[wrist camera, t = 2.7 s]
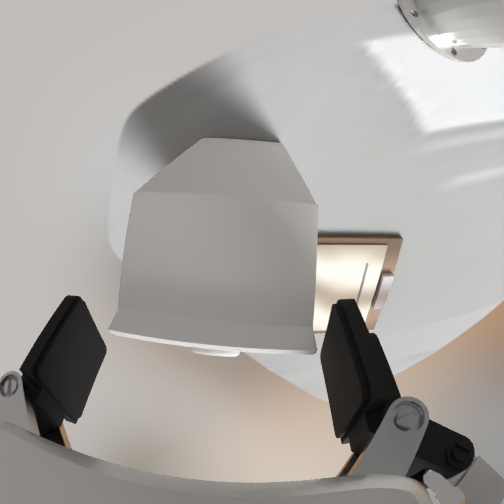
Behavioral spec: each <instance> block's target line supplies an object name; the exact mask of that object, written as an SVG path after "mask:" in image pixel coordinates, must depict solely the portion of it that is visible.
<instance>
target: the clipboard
mask: <svg viewBox="0 0 504 504" xmlns="http://www.w3.org/2000/svg"><path fill="white" fill-rule="evenodd" d="M402 241H403V238H402V237H401V236H355V235H318V238H317V268H316V288H315V305H314V319H313V332H314V333H326V329H327V325H328V321H329V316H330V312H331V307H332V305H333V304H337V301H338V300H339V299H355V301H356V303H357V305H358V307H359V310H360V312H361V314H362V317H363V319H364V321H365V324H366V326H367V329H368V330H371V329H374V327H375V324H376V322H377V319H378V316H379V314H380V311H381V309H383V308H384V305H385V302H386V299H387V296H388V293H389V291H390V288H391V285H392V281H393V278H394V275H393V272H394V269H395V266H396V262H397V259H398V255H399V252H400V248H401V244H402Z"/></svg>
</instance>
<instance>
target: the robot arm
mask: <svg viewBox="0 0 504 504" xmlns="http://www.w3.org/2000/svg"><path fill="white" fill-rule="evenodd" d="M397 2H398V4H399V6H400V8H401V11H402V13H403V14H404V16H405V18H406V19H407V21H408V22H409V24H410V25H411V26H412V28H413V29H414V30H415V32H416V33H417V34H418V35H419V36H420V37H421V38H422V39H423V40H424V41H425V42H426V43H427V44H428V45H429V46H430V47H431V48H433V49H434V50H435V51H437V52H438V53H440V54H441V55H443V56H445V57H447V58H449V59H451V60H454V61H458V62H473V61H476V60H478V59H480V58H481V57H482V56H483V55H484V53H485V52H486V50H487V48H504V0H397ZM106 351H107V350H106V345H105V343H104V341H103V339H102V337H101V335H100V333H99V331H98V329H97V327H96V325H95V323H94V321H93V319H92V317H91V315H90V312H89V310H88V308H87V306H86V303H85V302H84V301H83V300H82V299H81V297H79V296H70V295H68V296H66V297H65V298H64V300H63V301H62V303H61V304H60V305H59V307H58V308H57V310H56V311H55V313H54V314H53V315H52V317H51V318H50V320H49V321H48V323H47V325H46V326H45V328H44V329H43V331H42V332H41V334H40V335H39V337H38V339H37V340H36V342H35V343H34V345H33V347H32V348H31V350H30V352H29V354H28V356H27V357H26V359H25V361H24V362H23V364H22V366H21V368H20V371H21V372H22V373H23V375H22V377H21V375H20V374H19V373H17V372H15V371H10V372H7V373H6V374H4V375H3V376H2V377H1V379H0V504H433V503H432V500H431V498H430V496H429V494H428V492H427V490H426V488H430V489H431V490H432V491H433V492H434V493H435V494H436V495H435V497H436V498H437V499H438V500H439V502H440V503H441V504H500V503H501V502H502V500H503V498H504V479H503V478H502V477H501V476H500V475H499V474H497V472H496V471H495V470H493V468H492V467H490V466H489V465H488V464H487V463H486V462H485V461H484V460H483V459H482V458H481V457H480V456H478V457H477V458H476V457H475V456H474V453H475V452H474V446H473V443H472V442H471V441H470V439H468V438H467V437H465V436H463V435H461V434H459V433H457V432H454V431H452V430H450V429H448V428H446V427H444V426H442V425H440V424H438V423H436V422H434V421H432V420H430V419H429V412H428V410H427V407H426V406H425V405H424V404H423V402H422V401H420V400H418V399H417V398H414V397H402V398H401V396H400V393H399V390H398V387H397V385H396V382H395V379H394V377H393V374H392V372H391V369H390V366H389V364H388V361H387V359H386V356H385V354H384V351H383V349H382V346H381V344H380V342H379V339H378V337H377V335H376V334H374V333H369V331H368V329H367V326H366V324H365V321H364V319H363V317H362V314H361V312H360V310H359V307H358V305H357V303H356V301H355V299H339V300H338V301H337V304H333V305H332V307H331V312H330V316H329V321H328V325H327V329H326V333H325V338H324V342H323V346H322V349H321V355H320V357H321V364H322V369H323V374H324V379H325V384H326V389H327V394H328V399H329V403H330V409H331V414H332V420H333V425H334V430H335V435H336V437H337V438H341V443H342V444H346V443H350V447H351V451H352V452H353V453H352V455H351V456H350V458H349V459H348V461H347V462H346V464H345V465H344V466H343V468H342V469H341V471H340V472H339V474H338V475H337V476H336V477H333V478H323V479H314V480H304V481H291V482H270V483H234V482H215V481H204V480H194V479H186V478H179V477H172V476H166V475H160V474H155V473H150V472H145V471H140V470H136V469H132V468H128V467H124V466H120V465H117V464H113V463H109V462H106V461H103V460H100V459H97V458H94V457H90V456H88V455H85V454H82V453H79V452H77V451H74V450H72V448H71V445H70V442H69V440H68V437H67V434H66V431H65V428H64V425H63V419H65V420H66V421H69V422H72V423H75V424H76V423H77V420H78V418H80V417H81V415H82V413H83V410H84V407H85V405H86V402H87V399H88V396H89V394H90V391H91V389H92V386H93V384H94V381H95V379H96V376H97V374H98V371H99V369H100V367H101V364H102V362H103V359H104V357H105V355H106Z"/></svg>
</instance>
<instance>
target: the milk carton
mask: <svg viewBox="0 0 504 504" xmlns="http://www.w3.org/2000/svg"><path fill="white" fill-rule="evenodd" d="M317 238H318V205H317V204H316V203H315V201H314V199H313V197H312V195H311V193H310V191H309V189H308V188H307V186H306V184H305V182H304V180H303V178H302V177H301V175H300V173H299V171H298V170H297V168H296V166H295V164H294V163H293V161H292V159H291V157H290V156H289V154H288V152H287V150H286V149H285V147H284V145H283V144H282V143H276V142H267V141H256V140H243V139H227V138H202V139H201V140H199V141H198V142H197V143H195V144H194V145H193V146H191V147H190V148H189V149H187V150H186V151H185V152H183V153H182V154H181V155H180V156H178V157H177V158H176V159H174V160H173V161H172V162H171V163H169V164H168V165H167V166H166V167H165V168H163V169H162V170H161V171H160V172H158V173H157V174H156V175H155V176H154V177H153V178H151V179H150V180H149V181H148V182H147V183H146V184H144V185H143V186H142V187H141V188H140V189H139V190H138V191H136V192H135V193H134V195H133V199H132V205H131V210H130V215H129V221H128V227H127V233H126V240H125V247H124V254H123V262H122V271H121V280H120V291H119V304H118V311H117V313H116V315H115V317H114V319H113V321H112V323H111V325H110V327H109V329H108V330H109V332H110V333H111V334H113V335H118V336H123V337H129V338H134V339H140V340H146V341H152V342H158V343H165V344H172V345H180V346H188V347H190V351H192V352H194V353H198V354H205V355H215V356H229V357H230V356H231V357H234V356H238V355H239V353H240V352H253V353H273V354H314V353H316V351H317V347H316V342H315V337H314V332H313V319H314V305H315V288H316V268H317Z"/></svg>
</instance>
